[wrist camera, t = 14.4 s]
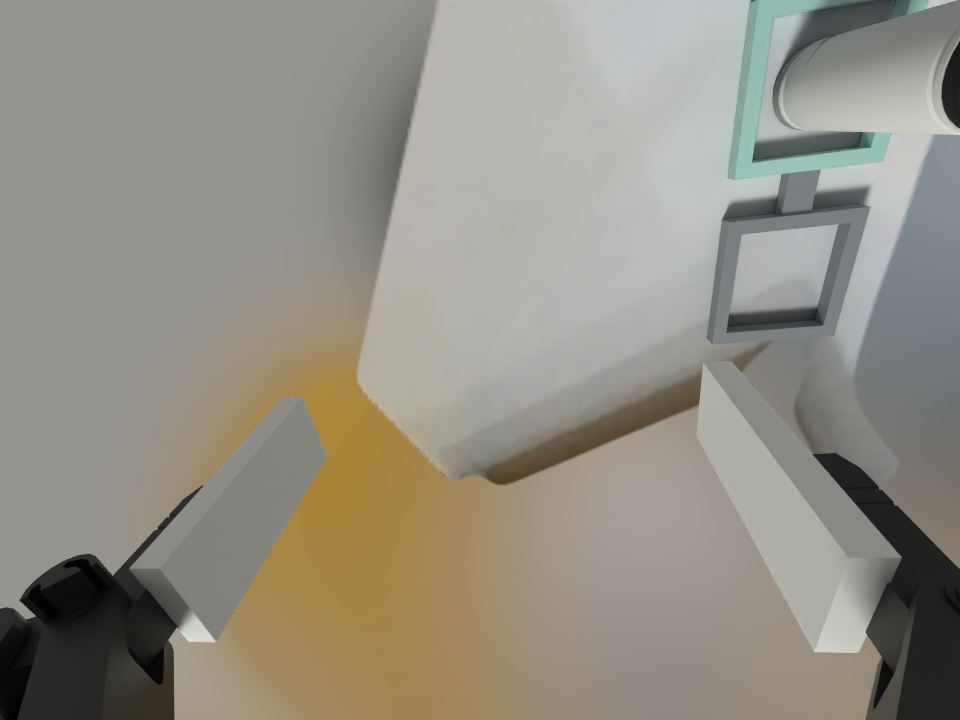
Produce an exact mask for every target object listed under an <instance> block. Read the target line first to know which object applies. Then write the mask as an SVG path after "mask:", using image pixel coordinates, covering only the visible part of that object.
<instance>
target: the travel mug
mask: <svg viewBox="0 0 960 720" xmlns="http://www.w3.org/2000/svg"><path fill="white" fill-rule="evenodd" d="M773 108H774V111H775V114H776V116H777V118H778V119H779V121H780V122H781V123H783V124H784V125H785V126H787V127H789V128H791V129H796V130H814V131H848V132H881V133H915V134H950V135H951V134H952V135H960V0H957V1H954V2H950V3H947V4H943V5H940V6H936V7H933V8H929V9H925V10H922V11H918V12H915V13H911V14H908V15H904V16H901V17H897V18H894V19H890V20H887V21H883V22H880V23H876V24H873V25H869V26H866V27H862V28H859V29H855V30H852V31H848V32H845V33H841V34H838V35H834V36H831V37H827V38H824V39H820V40H817V41H815V42H812V43H810V44H808V45H806V46H805V47H803V48H802V49H800V50H799V51H798V52H797V53H796V54H795V55H794V56H792V57H791V59H790V60H789V61H788V62H787V63H786V65H785V66H784V68H783V69H782V71H781V72H780V74H779V76H778V79H777V81H776V84H775V87H774V91H773Z"/></svg>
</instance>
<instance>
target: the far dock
mask: <svg viewBox="0 0 960 720" xmlns="http://www.w3.org/2000/svg"><path fill="white" fill-rule="evenodd" d="M819 174H820V169H819V170H811V171H803V172H795V173H787V174H782V176H781V182H780V187H779V193H778V198H777V203H776V209H775V213H774V214H765V215H756V216H747V217H738V218H729V219H722V225H721V233H720V241H719V249H718V256H717V264H716V272H715V280H714V288H713V295H712V303H711V311H710V319H709V327H708V334H707V339H708V340H709V341H710V342H711V343H712V344H724V343H738V342H752V341H766V340H780V339H794V338H808V337H822V336H834V333H835V330H836V326H837V323H838V319H839V316H840V312H841V309H842V305H843V302H844V298H845V295H846V291H847V288H848V284H849V280H850V277H851V273H852V270H853V266H854V263H855V259H856V256H857V252H858V249H859V245H860V242H861V238H862V235H863V231H864V227H865V224H866V220H867V217H868V213H869V210H870V207H869V206H865V205H861V204H854V205H845V206H836V207H827V208H818V209H812V206H813V201H814V197H815V192H816V188H817V183H818V178H819ZM834 224H839V226H838V230H837V234H836V238H835V242H834V246H833V250H832V254H831V258H830V262H829V266H828V270H827V273H826V277H825V281H824V285H823V289H822V293H821V297H820V301H819V305H818V309H817V313H816V317H815V320H804V321H791V322H778V323H765V324H752V325H739V326H727V324H728V318H729V311H730V304H731V298H732V291H733V284H734V278H735V271H736V265H737V258H738V251H739V245H740V238H741V234H749V233H759V232H768V231H778V230H787V229H796V228H806V227H815V226H825V225H834Z"/></svg>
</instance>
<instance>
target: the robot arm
mask: <svg viewBox="0 0 960 720" xmlns="http://www.w3.org/2000/svg"><path fill="white" fill-rule="evenodd" d="M696 436H697V438H698V440H699V442H700V444H701V446H702V447H703V449H704V451H705V453H706V455H707V457H708V458H709V460H710V462H711V464H712V466H713V467H714V469H715V471H716V473H717V475H718V477H719V478H720V480H721V482H722V484H723V486H724V488H725V489H726V491H727V493H728V495H729V496H730V498H731V500H732V502H733V504H734V506H735V508H736V510H737V512H738V513H739V515H740V517H741V518H742V521H743V522H744V524H745V526H746V528H747V530H748V531H749V533H750V535H751V537H752V539H753V541H754V543H755V544H756V546H757V548H758V550H759V552H760V554H761V555H762V557H763V559H764V561H765V563H766V564H767V566H768V568H769V570H770V572H771V574H772V575H773V577H774V579H775V581H776V583H777V585H778V587H779V588H780V590H781V592H782V594H783V596H784V598H785V599H786V601H787V603H788V605H789V607H790V609H791V610H792V612H793V614H794V616H795V617H796V620H797V621H798V623H799V625H800V627H801V629H802V631H803V632H804V634H805V636H806V638H807V640H808V641H809V643H810V645H811V647H812V649H813V651H814V652H845V653H847V652H848V653H858V652H859V650H860V648H861V646H862V644H863V642H864V639H865V637H866V635H868V637H869V638H870V640H871V641H872V643H873V644H874V646H875V647H876V649H877V650H878V652H879V653H880V655H881V656H882V658H881V660H880V662H879V664H878V666H877V668H876V670H875V672H874V673H873V676H872V677H871V679H870V681H869V683H868V686H867V687H868V688H869V689H871V690H872V693H871V698H870V702H869V706H868V711H867V715H866V720H960V569H959V568H958V567H957V566H956V565H955V564H954V563H953V562H952V561H951V560H950V559H949V558H948V557H947V556H946V555H945V554H944V553H943V552H942V551H941V550H940V549H939V548H938V547H937V546H936V545H935V544H934V543H933V542H932V541H931V540H930V539H929V538H928V537H927V536H926V535H925V534H924V533H923V532H922V530H921V529H920V528H918V526H917V525H916V524H915V523H914V522H913V521H912V520H911V519H910V518H908V516H907V515H906V514H904V512H903V511H902V510H901V509H900V508H899V507H898V506H895V505H894V504H893V501H892V500H891V499H890V498H889V497H888V496H887V495H886V494H885V493H884V492H883V491H882V490H879V488H878V486H877V484H876V483H875V482H874V481H873V480H872V479H871V478H870V477H869V476H868V475H867V474H866V473H865V472H864V471H863V470H862V469H861V468H860V467H858V466H856V465H855V464H853V463H851V462H850V461H848V460H846V459H845V458H843V457H841V456H840V455H838V454H836V453H829V454H811V452H810V451H809V450H808V449H807V448H806V447H805V446H804V444H803V443H802V442H801V441H800V440H799V439H798V438H797V436H796V435H795V434H794V433H793V432H792V431H791V429H790V428H789V427H788V426H787V425H786V424H785V423H784V421H783V420H782V419H781V418H780V417H779V416H778V414H777V413H776V412H775V411H774V410H773V409H772V408H771V406H770V405H769V404H768V403H767V402H766V401H765V400H764V398H763V397H762V396H761V395H760V394H759V393H758V392H757V391H756V389H755V388H754V387H753V386H752V385H751V383H750V382H749V381H748V380H747V379H746V378H745V377H744V375H743V374H742V373H741V372H740V371H739V370H738V368H737V367H736V366H735V365H734V364H733V363H732V362H731V361H724V362H712V363H703V373H702V383H701V393H700V403H699V413H698V423H697V433H696ZM327 458H328V457H327V455H326V452H325V449H324V447H323V445H322V442H321V440H320V437H319V435H318V433H317V430H316V428H315V425H314V423H313V421H312V418H311V416H310V413H309V411H308V409H307V406H306V404H305V401H304V399H303V397H293V398H283V399H282V400H281V401H280V402H279V403H278V404H277V405H276V406H275V407H274V408H273V410H272V411H271V412H270V413H269V414H268V415H267V416H266V417H265V418H264V420H263V421H262V422H261V423H260V424H259V425H258V426H257V427H256V428H255V430H254V431H253V432H252V433H251V434H250V435H249V436H248V437H247V438H246V440H245V441H244V442H243V443H242V444H241V445H240V446H239V447H238V449H237V450H236V451H235V452H234V453H233V454H232V455H231V456H230V457H229V459H227V461H226V462H225V463H224V464H223V465H222V466H221V467H220V468H219V469H218V471H217V472H216V473H215V474H214V475H213V476H212V477H211V478H210V479H209V481H208V482H207V483H206V484H205V485H204V486H201V487H200V488H198V489H197V490H195V491H194V492H193V493H191V494H190V495H189V496H187V497H186V498H185V499H183V500H182V501H181V503H180V504H179V505H178V506H177V507H176V508H175V509H174V510H173V511H172V512H171V513H170V516H169V518H166V519H165V520H164V521H163V522H162V523H161V524H160V525H159V526H158V530H155V531H154V532H153V533H152V534H151V535H150V536H149V537H148V538H147V539H146V541H145V542H144V543H143V544H142V545H141V546H140V547H139V548H138V549H137V550H136V552H134V553H133V555H132V556H131V557H130V558H129V559H128V560H127V561H126V562H125V563H124V564H123V565H122V566H121V568H120V569H119V570H118V571H117V572H116V573H115V574H114V575H113V576H112V575H111V573H110V572H109V571H108V570H107V569H106V568H105V567H104V565H103V564H102V563H101V562H100V561H99V560H98V559H97V557H96V556H94V555H91V554H84V555H78V556H75V557H72V558H70V559H67V560H65V561H63V562H61V563H59V564H58V565H56V566H54V567H52V568H51V569H49V570H48V571H47V572H46V573H44V574H42V575H41V576H40V577H39V578H37V579H36V580H35V581H34V582H33V583H32V584H31V585H30V586H29V587H28V588H27V589H26V590H25V592H24V594H23V595H22V597H21V599H20V601H21V602H22V603H23V604H24V605H25V606H26V607H27V608H28V609H29V610H30V611H31V612H32V613H34V614H35V615H36V617H33V618H30V619H25V618H23V617H22V616H21V615H20V614H19V613H18V612H17V611H16V610H15V609H12V608H7V607H6V608H2V609H0V720H174V651H173V648H172V645H171V643H170V642H169V641H168V639H169V638H170V636H171V635H172V634H173V632H174V631H175V629H176V628H178V629H179V630H180V632H181V633H182V634H183V635H184V637H185V638H186V639H187V640H188V641H190V642H217V640H218V638H219V637H220V635H221V633H222V632H223V630H224V628H225V627H226V625H227V623H228V622H229V620H230V618H231V617H232V615H233V614H234V612H235V610H236V609H237V607H238V605H239V604H240V602H241V600H242V599H243V597H244V595H245V594H246V592H247V590H248V589H249V587H250V585H251V584H252V582H253V580H254V579H255V577H256V575H257V574H258V572H259V570H260V569H261V567H262V565H263V564H264V562H265V560H266V559H267V557H268V556H269V554H270V552H271V550H272V549H273V547H274V545H275V544H276V542H277V540H278V539H279V537H280V536H281V534H282V532H283V531H284V529H285V527H286V526H287V524H288V522H289V521H290V519H291V517H292V516H293V514H294V512H295V511H296V509H297V507H298V506H299V504H300V502H301V501H302V499H303V497H304V496H305V494H306V492H307V491H308V489H309V488H310V486H311V484H312V483H313V481H314V479H315V478H316V476H317V474H318V473H319V471H320V469H321V468H322V466H323V464H324V463H325V461H326V459H327Z"/></svg>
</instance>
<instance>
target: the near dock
mask: <svg viewBox="0 0 960 720" xmlns="http://www.w3.org/2000/svg"><path fill="white" fill-rule="evenodd" d="M869 1H874V0H755V1H753V2H751V3H750V7H749V15H748V23H747V30H746V38H745V46H744V54H743V62H742V69H741V77H740V85H739V93H738V101H737V108H736V116H735V124H734V132H733V139H732V147H731V155H730V163H729V171H728V178H729V179H733V180H739V179H747V178H755V177H763V176H771V175H779V174H787V173H795V172H803V171H811V170H819V169H827V168H835V167H843V166H851V165H859V164H867V163H875V162H883V160H884V157H885V153H886V150H887V146H888V143H889V139H890V136H891V133H881V132H862V136H861V140H860V144H859V147H852V148H844V149H837V150H829V151H821V152H814V153H806V154H798V155H791V156H783V157H775V158H768V159H760V160H752V158H753V152H754V145H755V139H756V132H757V125H758V119H759V112H760V105H761V99H762V92H763V86H764V79H765V72H766V66H767V59H768V52H769V46H770V39H771V32H772V26H773V19H774V18H778V17H783V16H789V15H795V14H800V13H806V12H812V11H817V10H823V9H829V8H834V7H840V6H846V5H852V4H857V3H863V2H869ZM928 1H929V0H896V2H895V6H894V10H893V14H892V18H891V19H894V18H897V17H901V16H904V15H908V14H911V13H915V12H918V11H922V10H925V9H926V8H927V5H928Z"/></svg>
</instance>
